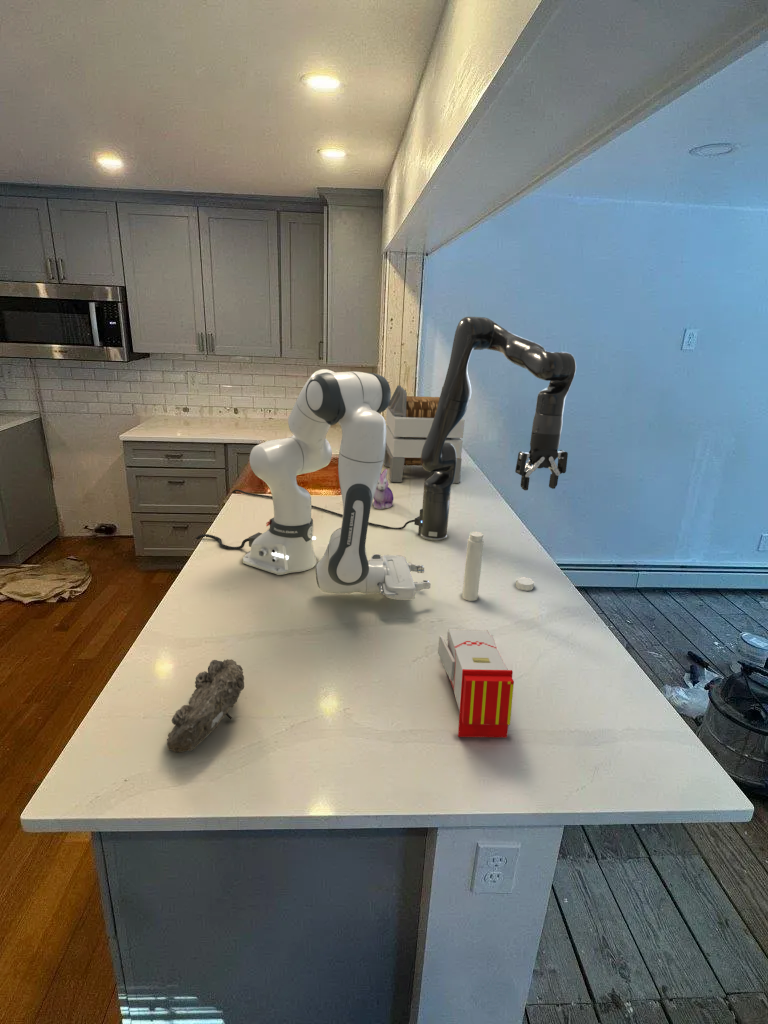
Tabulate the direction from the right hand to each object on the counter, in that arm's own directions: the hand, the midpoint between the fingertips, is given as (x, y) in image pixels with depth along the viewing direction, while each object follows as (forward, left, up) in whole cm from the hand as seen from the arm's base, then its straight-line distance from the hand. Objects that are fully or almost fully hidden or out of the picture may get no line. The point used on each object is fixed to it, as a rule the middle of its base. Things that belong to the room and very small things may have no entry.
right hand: (538, 488), depth 155 cm
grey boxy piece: (-87, +81, -30) cm, 123 cm away
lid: (0, 0, -28) cm, 28 cm away
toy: (+10, -54, -30) cm, 62 cm away
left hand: (-19, -24, -24) cm, 39 cm away
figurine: (-72, +30, -30) cm, 84 cm away
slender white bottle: (-9, -16, -30) cm, 35 cm away
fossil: (-26, -92, -30) cm, 100 cm away
